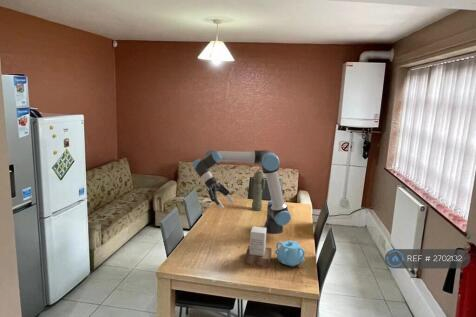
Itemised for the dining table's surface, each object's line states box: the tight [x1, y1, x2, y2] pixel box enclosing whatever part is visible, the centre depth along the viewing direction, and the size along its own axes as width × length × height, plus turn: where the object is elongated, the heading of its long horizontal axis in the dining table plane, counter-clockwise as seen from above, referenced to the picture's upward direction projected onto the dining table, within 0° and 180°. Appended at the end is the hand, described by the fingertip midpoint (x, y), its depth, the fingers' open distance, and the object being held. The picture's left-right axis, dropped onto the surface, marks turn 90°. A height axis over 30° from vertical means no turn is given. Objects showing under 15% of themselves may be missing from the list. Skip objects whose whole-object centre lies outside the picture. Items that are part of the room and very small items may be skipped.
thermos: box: [251, 171, 266, 212], centre depth 290 cm, size 9×12×35 cm
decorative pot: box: [275, 240, 306, 267], centre depth 199 cm, size 16×16×14 cm
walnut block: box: [244, 244, 272, 268], centre depth 200 cm, size 15×15×6 cm
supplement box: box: [249, 225, 267, 256], centre depth 197 cm, size 9×9×15 cm
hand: (227, 205), depth 209 cm, fingers open, 13 cm apart
